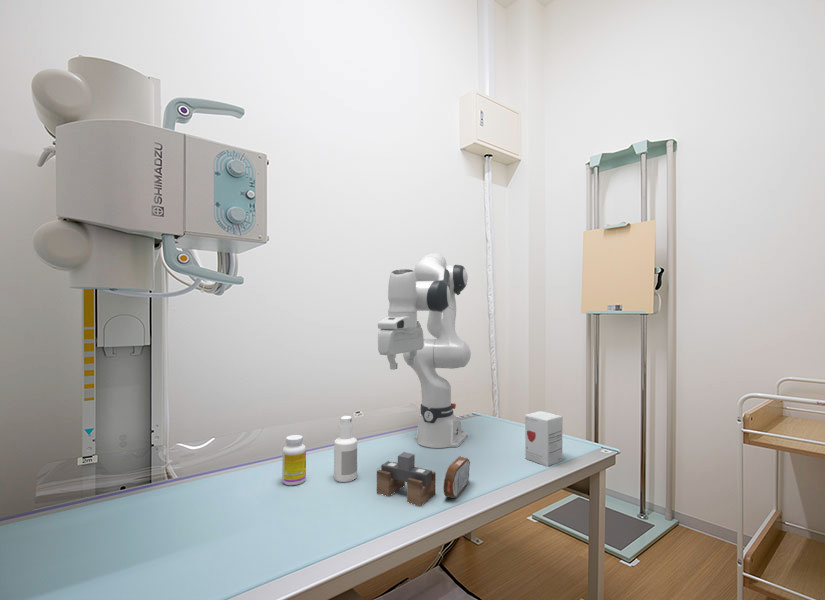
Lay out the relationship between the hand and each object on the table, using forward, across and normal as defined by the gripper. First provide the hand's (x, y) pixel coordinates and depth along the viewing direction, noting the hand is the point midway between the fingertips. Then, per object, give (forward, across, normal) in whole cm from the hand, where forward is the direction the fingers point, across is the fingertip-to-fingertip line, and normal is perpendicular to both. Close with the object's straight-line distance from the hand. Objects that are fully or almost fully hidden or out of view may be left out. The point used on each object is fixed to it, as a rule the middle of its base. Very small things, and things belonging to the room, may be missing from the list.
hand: (402, 367), depth 125 cm
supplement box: (+33, -36, +33) cm, 59 cm away
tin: (+33, +1, +19) cm, 38 cm away
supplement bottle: (+33, +21, -24) cm, 46 cm away
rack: (+33, +10, +8) cm, 35 cm away
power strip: (+29, +10, +8) cm, 31 cm away
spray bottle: (+33, +11, -13) cm, 37 cm away
